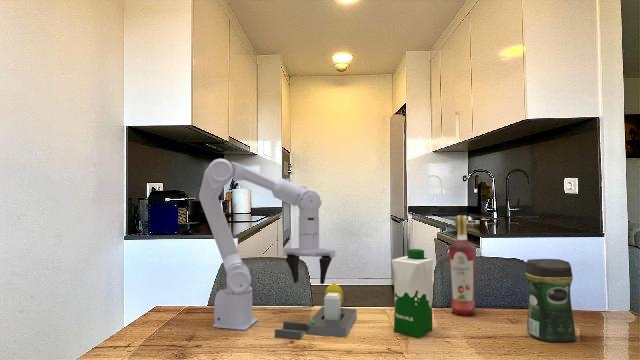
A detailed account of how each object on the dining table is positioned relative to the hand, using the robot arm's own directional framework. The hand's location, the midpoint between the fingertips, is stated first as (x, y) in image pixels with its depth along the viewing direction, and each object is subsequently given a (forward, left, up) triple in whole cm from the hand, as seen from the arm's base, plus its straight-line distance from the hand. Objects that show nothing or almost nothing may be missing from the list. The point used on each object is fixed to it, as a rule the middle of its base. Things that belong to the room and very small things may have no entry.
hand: (309, 282), depth 107 cm
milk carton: (+28, -3, -10) cm, 30 cm away
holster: (-1, -12, -10) cm, 16 cm away
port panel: (+8, -4, -10) cm, 13 cm away
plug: (+8, -4, -10) cm, 13 cm away
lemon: (+5, +9, -10) cm, 14 cm away
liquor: (+42, +15, -10) cm, 46 cm away
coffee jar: (+60, +1, -10) cm, 61 cm away
